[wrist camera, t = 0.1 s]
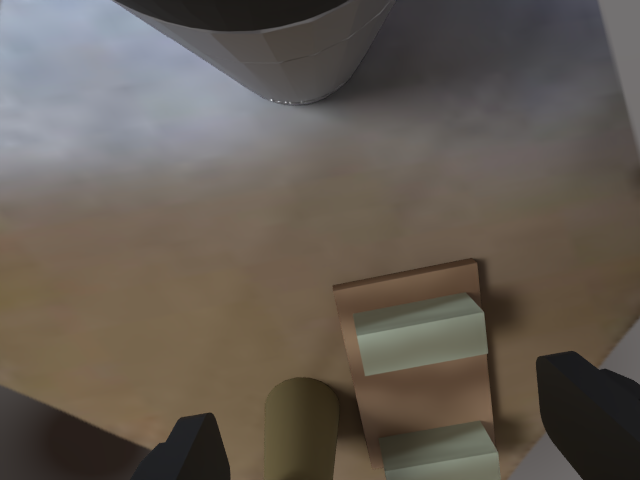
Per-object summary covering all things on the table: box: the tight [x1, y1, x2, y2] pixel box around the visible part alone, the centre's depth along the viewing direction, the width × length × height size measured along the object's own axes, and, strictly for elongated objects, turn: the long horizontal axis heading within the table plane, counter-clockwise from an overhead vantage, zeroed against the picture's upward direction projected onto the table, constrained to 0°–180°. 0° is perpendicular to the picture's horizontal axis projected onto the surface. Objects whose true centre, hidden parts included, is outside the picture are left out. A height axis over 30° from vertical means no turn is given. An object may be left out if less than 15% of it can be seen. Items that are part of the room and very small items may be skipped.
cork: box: [264, 378, 340, 480], centre depth 24 cm, size 6×6×11 cm
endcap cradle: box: [333, 258, 501, 480], centre depth 27 cm, size 16×10×4 cm, turn 12°
